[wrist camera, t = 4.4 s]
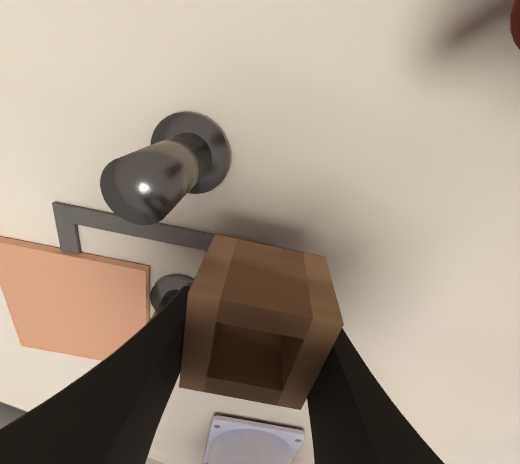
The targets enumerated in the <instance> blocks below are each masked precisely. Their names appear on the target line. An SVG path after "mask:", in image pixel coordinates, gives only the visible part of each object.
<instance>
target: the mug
mask: <svg viewBox="0 0 520 464" xmlns="http://www.w3.org/2000/svg"><path fill="white" fill-rule="evenodd" d="M510 30H511V33H512V37H513V40H514V42H515V44H516V45H517V47H518V48H519V49H520V0H515V2H514V3H513V7H512V11H511V15H510Z"/></svg>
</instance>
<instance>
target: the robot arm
mask: <svg viewBox="0 0 520 464" xmlns="http://www.w3.org/2000/svg"><path fill="white" fill-rule="evenodd" d="M190 288H191V287H188V286H184V287H182V288H181V289H180V290H179V291H178V293H177V294H176V295H175V296H174V297H173V298H172V299H171V300H170V301H169V302H168V303H167V304H166V305H165V306H164V307H163V308H162V309H161V310H160V311H159V312H158V313H157V314H156V315H155V316H154V317H153V318H152V319H151V320H150V321H149V322H148V323H147V324H146V325H145V326H144V327H143V328H141V329H140V330H139V331H138V332H137V333H136V334H135V335H133V336H132V337H131V338H130V339H129V340H128V341H126V342H125V343H124V344H123V345H122V346H121V347H119V348H118V349H117V350H116V351H115V352H113V353H112V354H111V355H110V356H108V357H107V358H106V359H104V360H103V361H102V362H100V363H99V364H98V365H96V366H95V367H94V368H92V369H91V370H90V371H88V372H87V373H86V374H84V375H83V376H81V377H80V378H79V379H77V380H76V381H74V382H73V383H71V384H70V385H69V386H67V387H66V388H64V389H63V390H61V391H60V392H58V393H57V394H55V395H54V396H52V397H51V398H49V399H48V400H46V401H45V402H43V403H42V404H40V405H39V406H37V407H35V408H34V409H32V410H31V411H29V412H27V413H26V414H24V415H22V416H21V417H19V418H18V419H16V420H14V421H13V422H11V423H10V424H8V425H6V426H5V427H3V428H2V429H0V464H145V462H146V459H147V456H148V453H149V450H150V447H151V444H152V441H153V438H154V435H155V432H156V430H157V427H158V424H159V422H160V419H161V417H162V414H163V412H164V409H165V407H166V405H167V402H168V400H169V398H170V395H171V393H172V390H173V388H174V386H175V383H176V381H177V379H178V376H179V374H180V371H181V362H182V351H183V341H184V330H185V320H186V309H187V299H188V292H189V290H190ZM307 401H308V408H309V416H310V424H311V431H312V439H313V448H314V459H315V464H444V463H443V462H442V460H441V459H440V458H439V457H438V456H437V455H436V454H435V453H434V452H433V450H432V449H431V448H430V447H429V446H428V445H427V444H426V442H425V441H424V440H423V439H422V438H421V437H420V435H419V434H418V433H417V432H416V431H415V429H414V428H413V427H412V426H411V425H410V423H409V422H408V421H407V420H406V418H405V417H404V416H403V415H402V414H401V412H400V411H399V410H398V408H397V407H396V406H395V405H394V403H393V402H392V401H391V399H390V398H389V397H388V395H387V394H386V393H385V391H384V390H383V388H382V387H381V386H380V384H379V383H378V382H377V380H376V379H375V377H374V376H373V375H372V373H371V372H370V370H369V369H368V367H367V366H366V364H365V363H364V361H363V360H362V358H361V357H360V355H359V354H358V352H357V351H356V349H355V347H354V346H353V344H352V343H351V341H350V340H349V338H348V336H347V335H346V333H345V332H344V330H343V328H342V329H341V331H340V333H339V335H338V337H337V339H336V341H335V343H334V345H333V347H332V349H331V351H330V353H329V355H328V357H327V359H326V361H325V363H324V365H323V367H322V369H321V371H320V373H319V375H318V377H317V379H316V381H315V383H314V385H313V387H312V389H311V391H310V393H309V395H308V397H307ZM304 439H305V433H304V431H302V430H298V429H293V428H287V427H281V426H276V425H270V424H265V423H259V422H253V421H248V420H242V419H236V418H231V417H225V416H219V415H216V416H214V417H213V419H212V424H211V428H210V433H209V438H208V442H207V447H206V452H205V456H204V461H203V464H292V460H293V458H294V457H295V455H296V453H297V451H298V450H299V448H300V446H301V444H302V442H303V441H304Z"/></svg>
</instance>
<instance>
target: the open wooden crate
mask: <svg viewBox="0 0 520 464" xmlns="http://www.w3.org/2000/svg"><path fill="white" fill-rule="evenodd" d="M343 325H344V323H343V319H342V316H341V312H340V309H339V305H338V302H337V298H336V295H335V291H334V288H333V284H332V281H331V277H330V274H329V270H328V267H327V263H326V260H325V257H323V256H318V255H313V254H308V253H303V252H299V251H294V250H289V249H284V248H280V247H275V246H270V245H265V244H261V243H256V242H251V241H246V240H241V239H237V238H232V237H227V236H222V235H218V234H215V235H214V237H213V240H212V242H211V244H210V246H209V248H208V251H207V253H206V255H205V257H204V259H203V261H202V264H201V266H200V268H199V270H198V272H197V275H196V277H195V279H194V281H193V283H192V286H191V288H190V290H189V292H188V299H187V309H186V320H185V330H184V341H183V351H182V362H181V372H180V383H179V387H180V388H186V389H191V390H196V391H202V392H207V393H212V394H218V395H223V396H229V397H234V398H239V399H245V400H250V401H256V402H261V403H266V404H272V405H277V406H282V407H288V408H293V409H299V410H301V408H302V406H303V404H304V402H305V400H306V399H307V397H308V395H309V393H310V391H311V389H312V387H313V385H314V383H315V381H316V379H317V377H318V375H319V373H320V371H321V369H322V367H323V365H324V363H325V361H326V359H327V357H328V355H329V353H330V351H331V349H332V347H333V345H334V343H335V341H336V339H337V337H338V335H339V333H340V331H341V329H342V327H343Z"/></svg>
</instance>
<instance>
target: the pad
mask: <svg viewBox="0 0 520 464" xmlns="http://www.w3.org/2000/svg"><path fill="white" fill-rule="evenodd" d="M0 286H1V288H2V291H3V294H4V297H5V300H6V303H7V306H8V309H9V312H10V314H11V317H12V320H13V323H14V326H15V329H16V332H17V335H18V338H19V340H20V343H21V346H25V347H30V348H36V349H41V350H46V351H52V352H57V353H63V354H68V355H74V356H79V357H85V358H90V359H96V360H101V361H103V360H104V359H106V358H107V357H108V356H110V355H111V354H112V353H113V352H115V351H116V350H117V349H118V348H119V347H121V346H122V345H123V344H124V343H125V342H126V341H128V340H129V339H130V338H131V337H132V336H133V335H135V334H136V333H137V332H138V331H139V330H140V329H141V328H143V327H144V326H145V325H146V324H147V323H148V322H149V266H146V265H141V264H136V263H131V262H126V261H121V260H116V259H111V258H106V257H101V256H96V255H91V254H86V253H80V254H74V253H69V252H64V251H61V248H56V247H51V246H46V245H41V244H36V243H30V242H25V241H20V240H15V239H10V238H5V237H0Z"/></svg>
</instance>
